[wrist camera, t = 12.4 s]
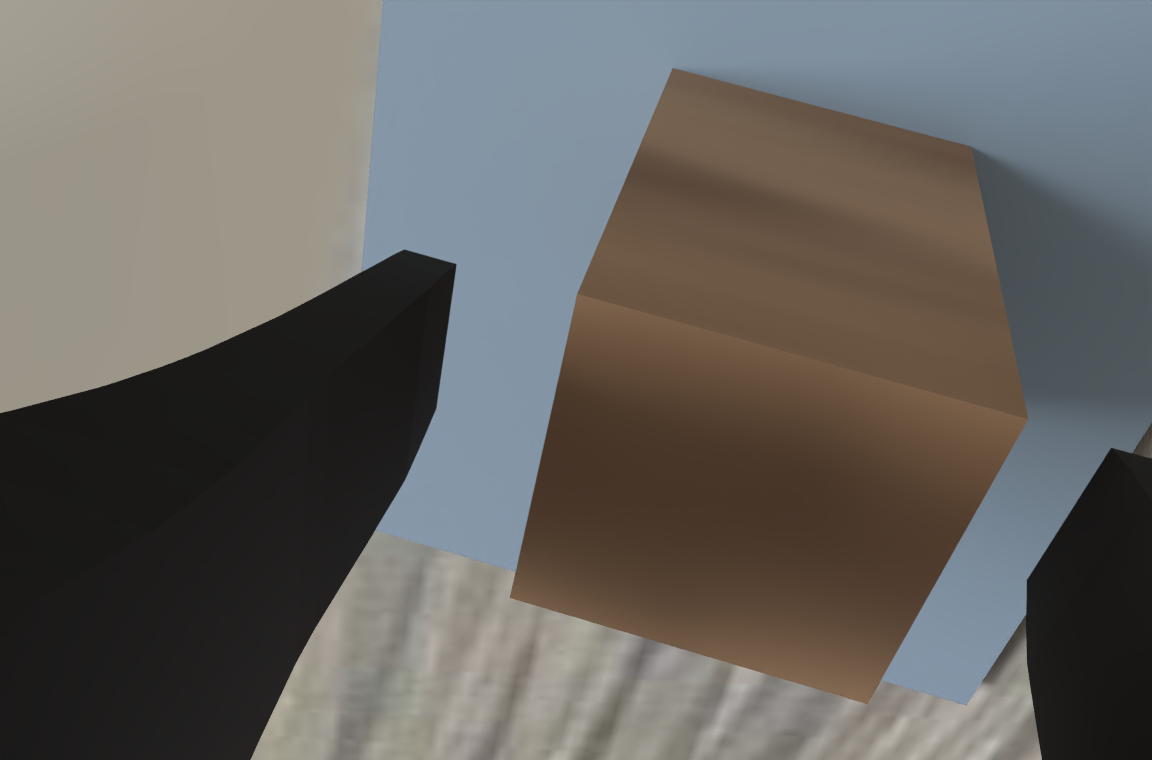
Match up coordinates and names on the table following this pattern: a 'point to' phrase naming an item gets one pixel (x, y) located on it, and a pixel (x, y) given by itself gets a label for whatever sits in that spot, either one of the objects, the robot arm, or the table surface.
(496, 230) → the slate mat
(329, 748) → the table surface
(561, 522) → the walnut block
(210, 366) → the robot arm
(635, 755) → the table surface
